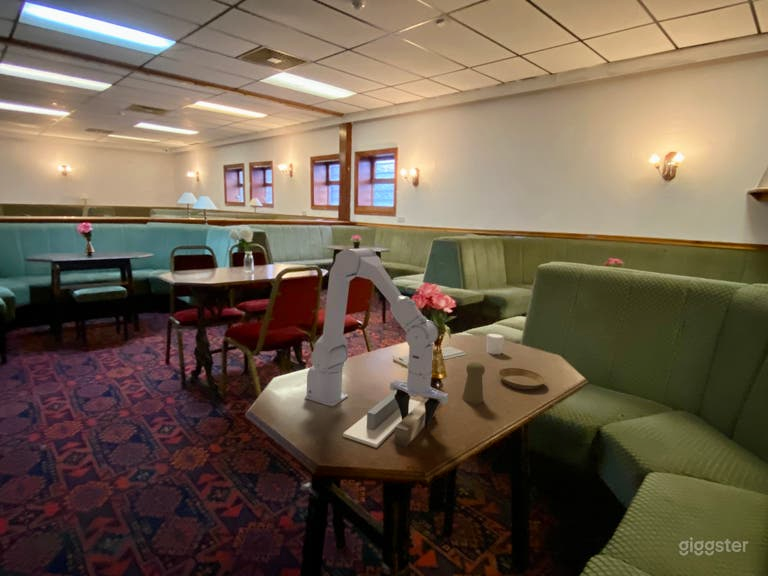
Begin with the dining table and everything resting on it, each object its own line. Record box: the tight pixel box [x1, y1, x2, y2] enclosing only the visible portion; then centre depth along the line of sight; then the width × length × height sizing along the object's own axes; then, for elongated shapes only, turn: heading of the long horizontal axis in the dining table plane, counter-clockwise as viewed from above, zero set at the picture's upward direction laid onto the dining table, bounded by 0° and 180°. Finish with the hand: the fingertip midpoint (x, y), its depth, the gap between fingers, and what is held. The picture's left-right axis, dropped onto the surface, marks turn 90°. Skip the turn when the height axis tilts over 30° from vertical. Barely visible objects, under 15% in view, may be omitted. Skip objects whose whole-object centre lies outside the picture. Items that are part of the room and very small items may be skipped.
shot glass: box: [486, 332, 505, 355], centre depth 167 cm, size 7×7×7 cm
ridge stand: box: [342, 390, 421, 449], centre depth 107 cm, size 9×26×5 cm, turn 153°
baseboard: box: [392, 346, 467, 369], centre depth 156 cm, size 30×3×10 cm
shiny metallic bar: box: [393, 397, 435, 448], centre depth 104 cm, size 18×3×4 cm, turn 153°
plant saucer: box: [497, 367, 546, 390], centre depth 137 cm, size 15×15×3 cm
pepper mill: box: [461, 361, 486, 405], centre depth 122 cm, size 6×6×11 cm
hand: (415, 423), depth 104 cm, fingers open, 5 cm apart
